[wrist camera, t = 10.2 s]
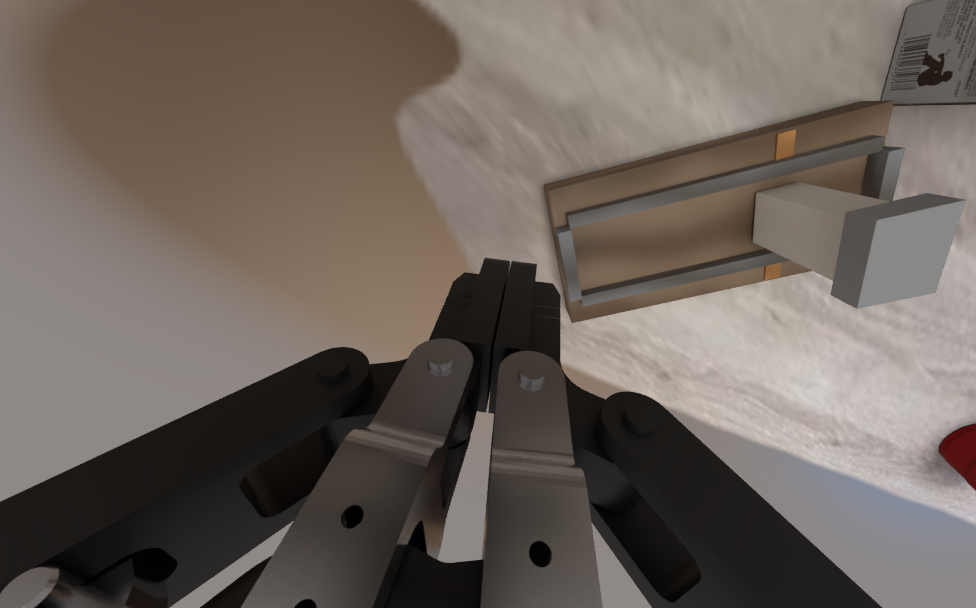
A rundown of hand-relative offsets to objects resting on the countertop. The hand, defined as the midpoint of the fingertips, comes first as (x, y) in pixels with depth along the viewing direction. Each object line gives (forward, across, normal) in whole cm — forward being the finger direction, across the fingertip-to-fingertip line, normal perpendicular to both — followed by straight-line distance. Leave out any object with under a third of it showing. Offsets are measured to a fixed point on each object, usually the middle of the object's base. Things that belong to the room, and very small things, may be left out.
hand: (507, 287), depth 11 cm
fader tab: (+21, -19, +4) cm, 29 cm away
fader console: (+23, -14, +6) cm, 28 cm away
